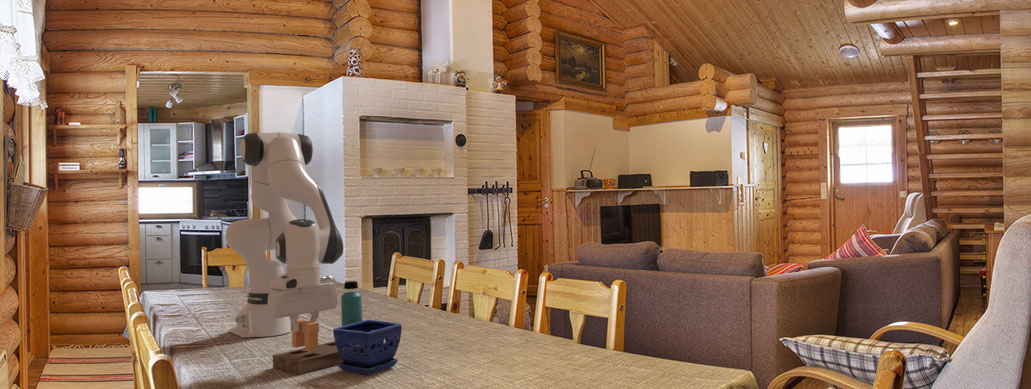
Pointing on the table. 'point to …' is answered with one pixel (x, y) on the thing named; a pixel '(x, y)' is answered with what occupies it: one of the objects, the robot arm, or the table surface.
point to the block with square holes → (308, 359)
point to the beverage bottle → (351, 304)
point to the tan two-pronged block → (306, 335)
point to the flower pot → (367, 346)
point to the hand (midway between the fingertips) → (304, 329)
